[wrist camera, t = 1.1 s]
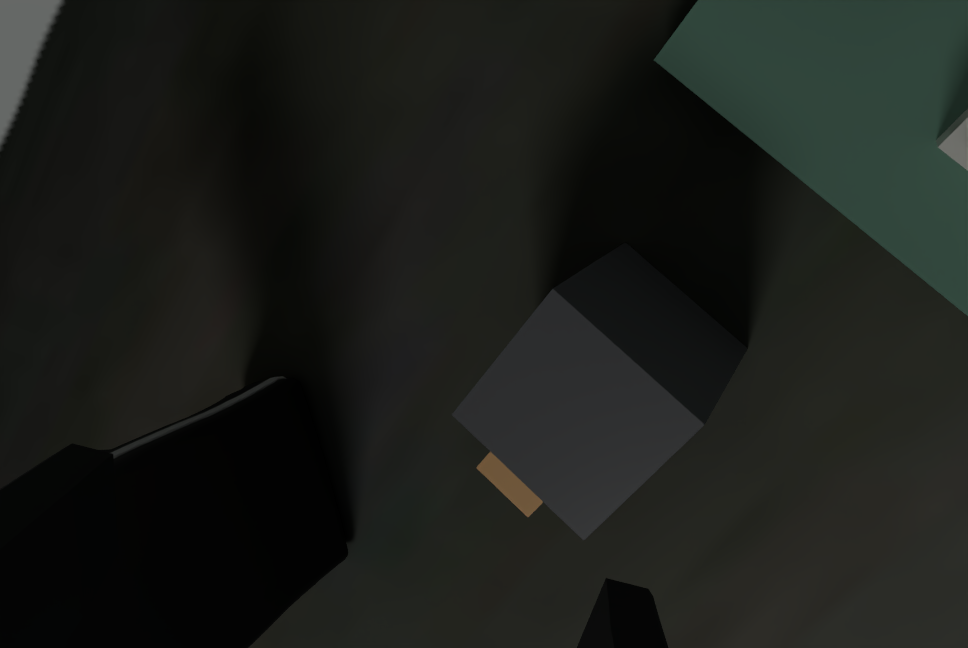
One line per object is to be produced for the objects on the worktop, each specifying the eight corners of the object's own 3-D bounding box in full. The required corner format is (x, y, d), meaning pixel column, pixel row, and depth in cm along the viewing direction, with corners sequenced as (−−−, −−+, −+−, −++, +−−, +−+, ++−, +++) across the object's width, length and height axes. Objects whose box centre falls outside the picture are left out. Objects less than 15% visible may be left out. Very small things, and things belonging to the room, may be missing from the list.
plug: (747, 348, 21) (704, 424, 16) (632, 462, 23) (567, 555, 18) (625, 242, 21) (552, 288, 17) (525, 363, 23) (438, 431, 19)
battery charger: (220, 375, 29) (-133, 538, 19) (304, 366, 27) (-39, 541, 17) (275, 556, 30) (-28, 795, 21) (359, 559, 28) (69, 823, 19)
